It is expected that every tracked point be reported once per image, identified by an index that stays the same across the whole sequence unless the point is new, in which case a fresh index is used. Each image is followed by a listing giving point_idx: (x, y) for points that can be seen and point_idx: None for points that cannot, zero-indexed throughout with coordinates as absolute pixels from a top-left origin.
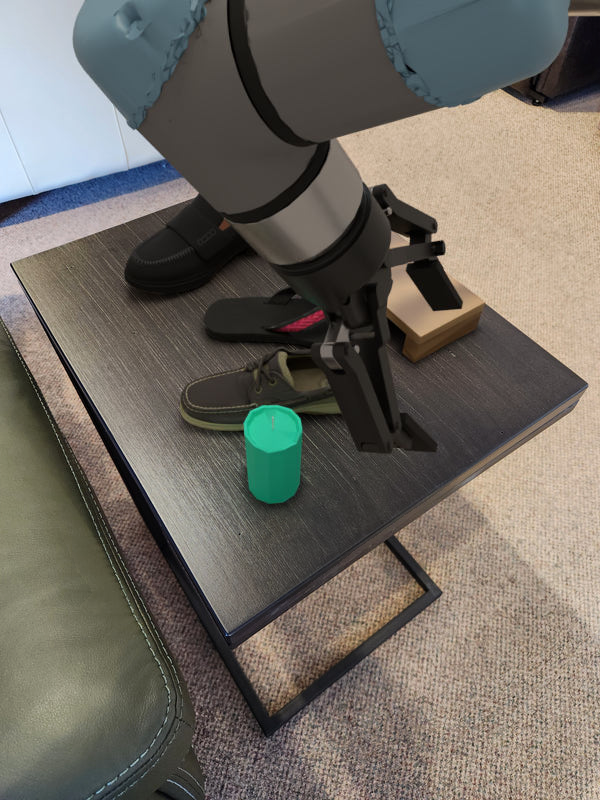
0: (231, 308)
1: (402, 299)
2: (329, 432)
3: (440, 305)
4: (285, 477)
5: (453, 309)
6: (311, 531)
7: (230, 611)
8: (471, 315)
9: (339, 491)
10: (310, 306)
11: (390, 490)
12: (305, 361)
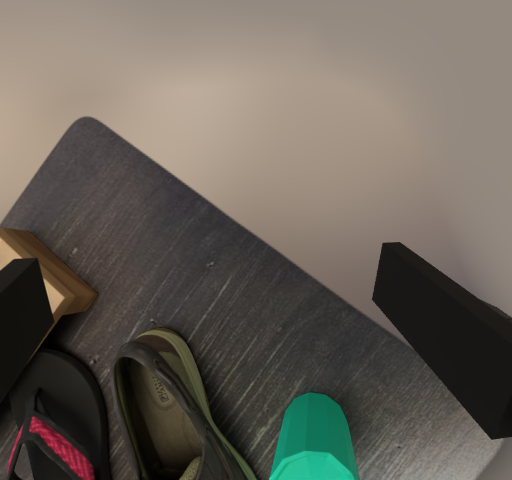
0: None
1: None
2: (226, 373)
3: (37, 312)
4: (341, 429)
5: (42, 277)
6: (364, 362)
7: None
8: (12, 239)
9: (302, 342)
10: (42, 451)
11: (281, 285)
12: (141, 442)
